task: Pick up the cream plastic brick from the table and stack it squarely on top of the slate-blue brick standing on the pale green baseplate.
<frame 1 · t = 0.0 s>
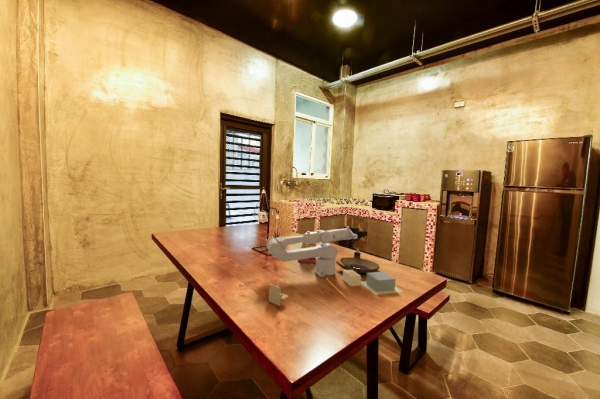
hand: (362, 231, 137), 22 cm above the table, tool horizontal, fingers open, 7 cm apart
cream brick: (350, 284, 122), on the table
baseplate: (379, 288, 118), on the table
grey tabbed plate: (275, 304, 101), on the table
stacking bear: (308, 261, 153), on the table
blue base brick: (380, 286, 118), point 1 cm above the table, touching baseplate
dark shallow pan: (359, 270, 142), on the table
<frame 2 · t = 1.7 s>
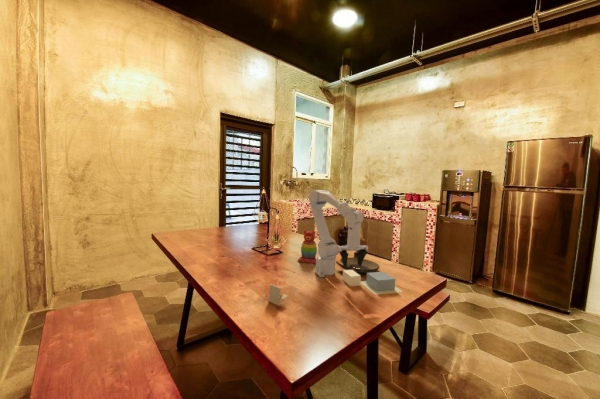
hand: (352, 265, 121), 9 cm above the table, tool pointing down, fingers open, 7 cm apart
nothing on the table moved.
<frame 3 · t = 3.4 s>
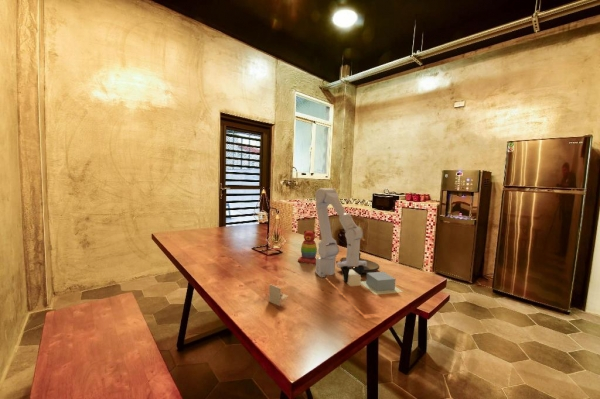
hand: (351, 281, 121), 1 cm above the table, tool pointing down, fingers closed on cream brick, 5 cm apart
cream brick: (350, 284, 122), on the table, touching gripper
everything else where it was.
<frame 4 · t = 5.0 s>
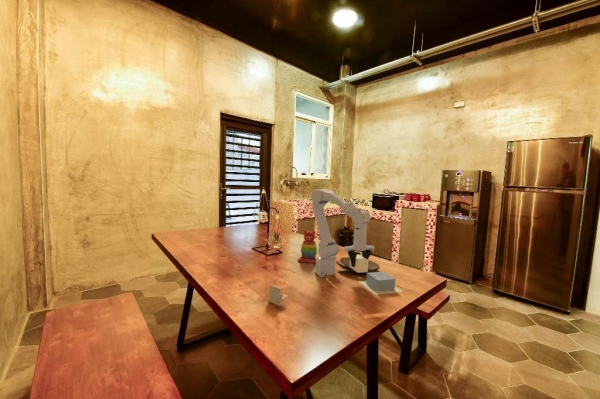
hand: (358, 266, 120), 9 cm above the table, tool pointing down, fingers closed on cream brick, 5 cm apart
cream brick: (358, 269, 120), point 8 cm above the table, touching gripper
everything else where it was.
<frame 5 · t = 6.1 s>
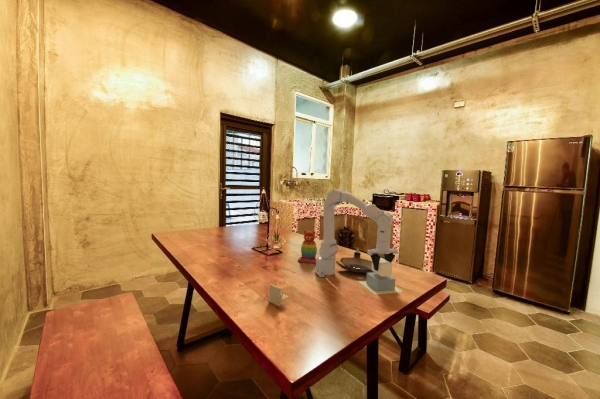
hand: (381, 269, 117), 9 cm above the table, tool pointing down, fingers closed on cream brick, 5 cm apart
cream brick: (381, 272, 117), point 7 cm above the table, touching gripper
everything else where it was.
when the fingers open (9 cm above the table, at t = 6.8 s): cream brick drops 1 cm, resting on blue base brick.
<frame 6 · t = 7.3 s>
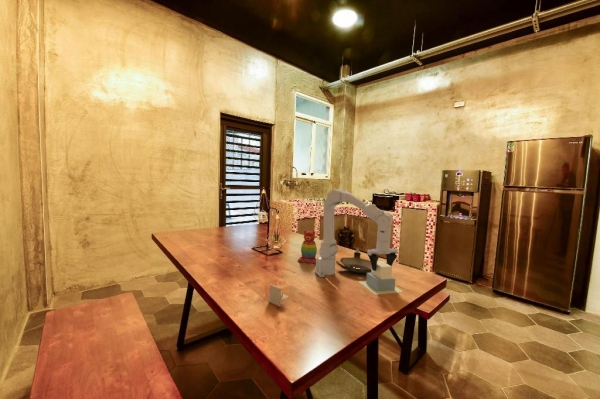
hand: (381, 269, 117), 9 cm above the table, tool pointing down, fingers open, 7 cm apart
cream brick: (380, 275, 118), point 6 cm above the table, touching blue base brick
blue base brick: (380, 286, 118), point 1 cm above the table, touching baseplate, cream brick
everything else where it was.
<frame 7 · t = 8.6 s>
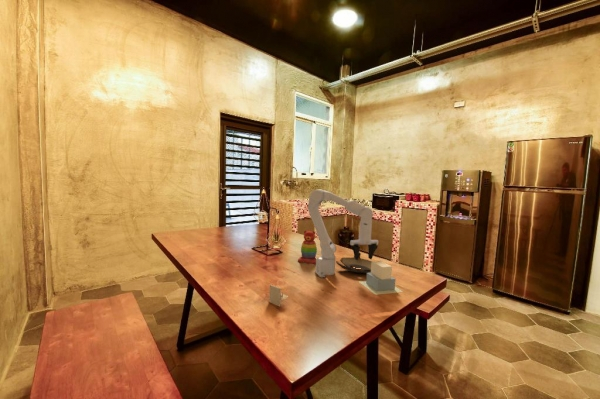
hand: (363, 259, 127), 10 cm above the table, tool pointing down, fingers open, 7 cm apart
nothing on the table moved.
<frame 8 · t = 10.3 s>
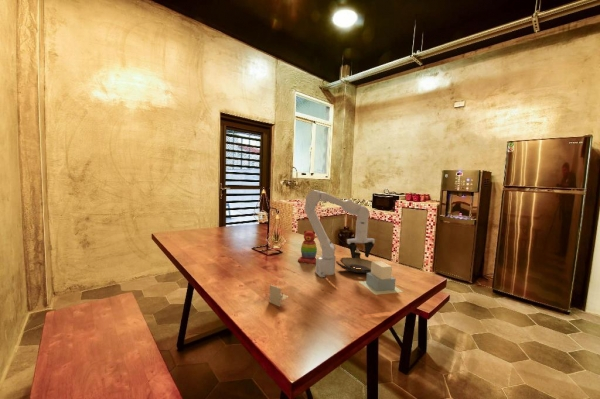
hand: (359, 257, 130), 10 cm above the table, tool pointing down, fingers open, 7 cm apart
nothing on the table moved.
at the end: cream brick 0.1 cm off-centre on the blue base brick, point 5.0 cm above the blue base brick's base; cream brick tilted 0°; the gripper is holding nothing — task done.
